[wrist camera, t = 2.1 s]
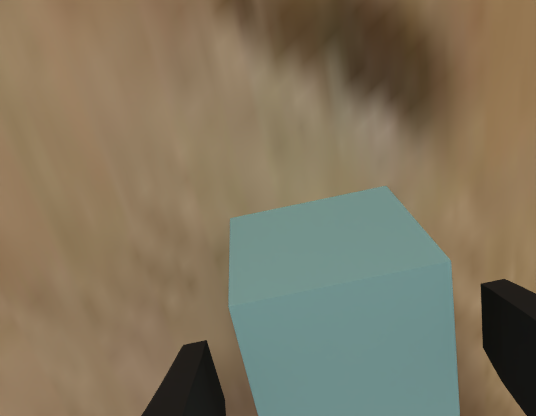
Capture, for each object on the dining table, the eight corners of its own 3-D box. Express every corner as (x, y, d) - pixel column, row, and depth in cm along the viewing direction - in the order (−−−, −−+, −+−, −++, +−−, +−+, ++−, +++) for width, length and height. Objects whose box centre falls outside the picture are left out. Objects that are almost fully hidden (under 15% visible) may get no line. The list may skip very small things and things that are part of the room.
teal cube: (261, 343, 17) (271, 464, 13) (230, 217, 15) (228, 306, 11) (399, 314, 17) (460, 427, 13) (385, 185, 15) (450, 260, 11)
